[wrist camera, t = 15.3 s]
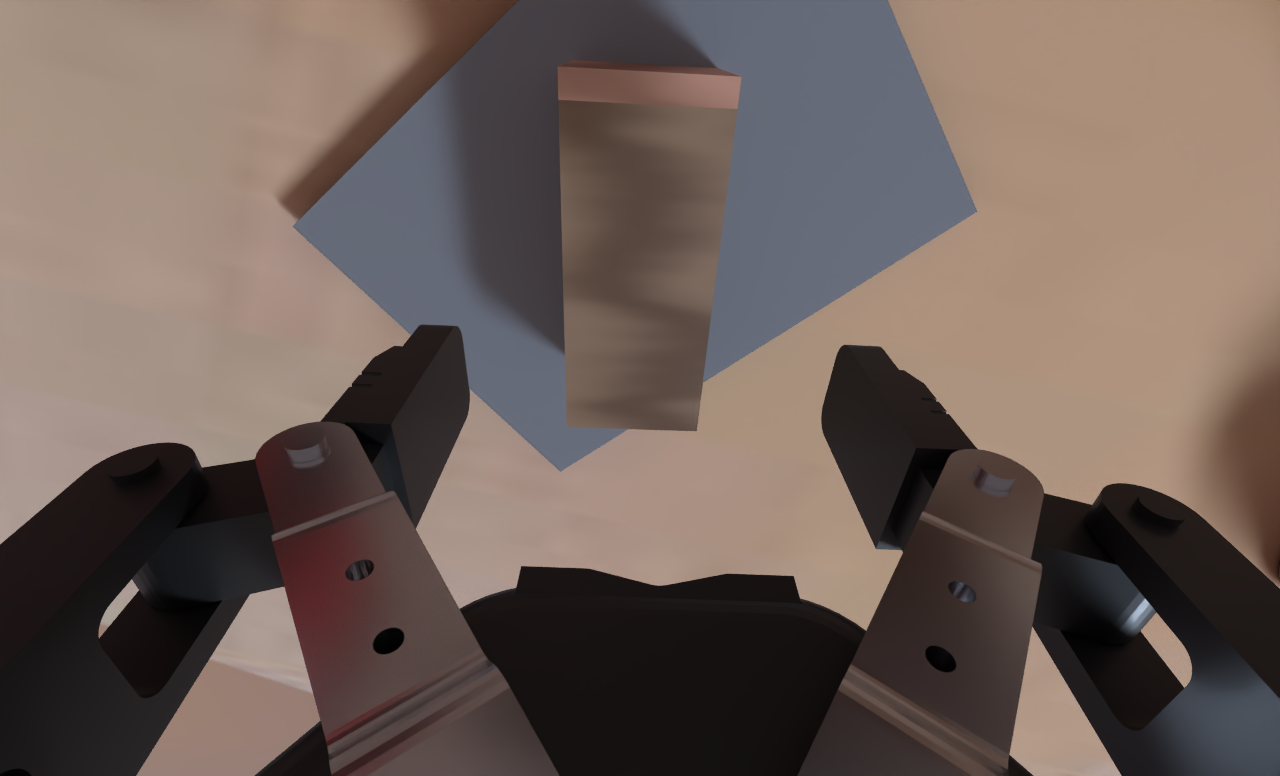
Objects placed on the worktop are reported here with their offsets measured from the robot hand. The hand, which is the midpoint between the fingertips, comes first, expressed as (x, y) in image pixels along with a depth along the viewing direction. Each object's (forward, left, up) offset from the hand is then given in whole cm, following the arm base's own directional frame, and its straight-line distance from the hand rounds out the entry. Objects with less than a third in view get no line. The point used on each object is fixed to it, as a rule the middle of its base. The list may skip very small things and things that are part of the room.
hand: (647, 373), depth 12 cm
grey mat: (0, 0, -13) cm, 13 cm away
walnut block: (+4, +5, -10) cm, 12 cm away
